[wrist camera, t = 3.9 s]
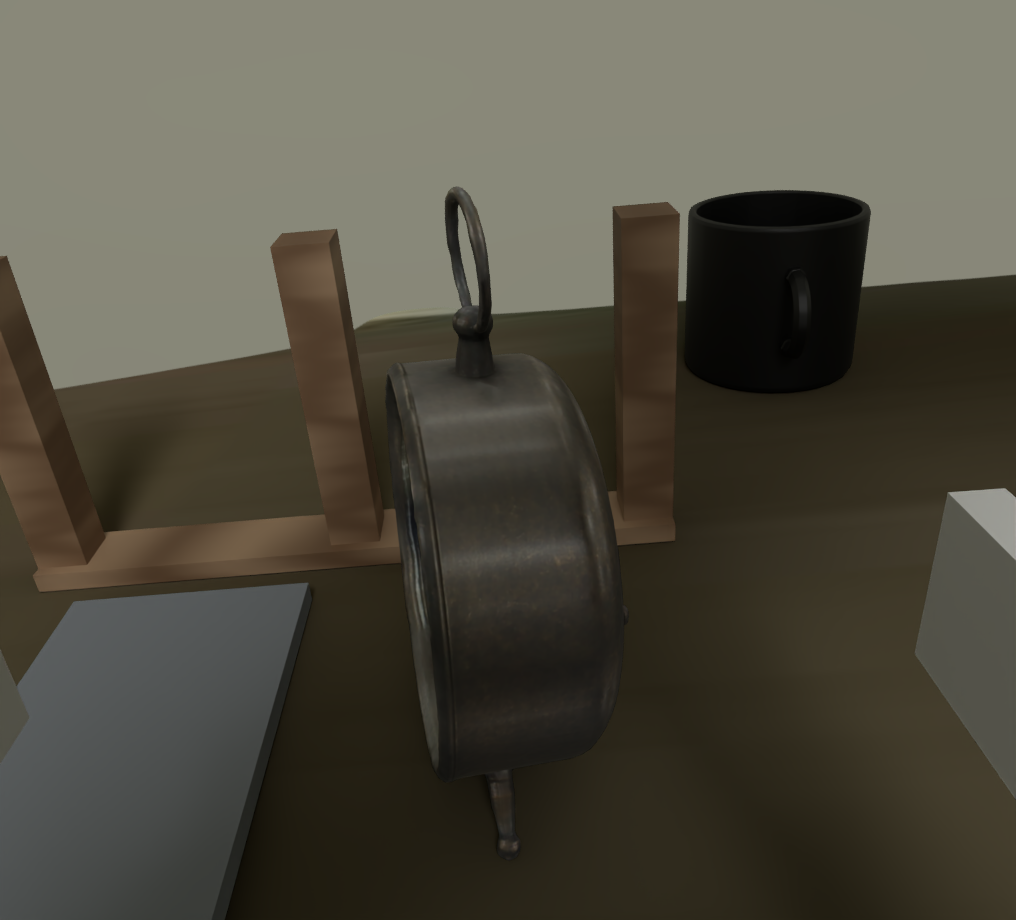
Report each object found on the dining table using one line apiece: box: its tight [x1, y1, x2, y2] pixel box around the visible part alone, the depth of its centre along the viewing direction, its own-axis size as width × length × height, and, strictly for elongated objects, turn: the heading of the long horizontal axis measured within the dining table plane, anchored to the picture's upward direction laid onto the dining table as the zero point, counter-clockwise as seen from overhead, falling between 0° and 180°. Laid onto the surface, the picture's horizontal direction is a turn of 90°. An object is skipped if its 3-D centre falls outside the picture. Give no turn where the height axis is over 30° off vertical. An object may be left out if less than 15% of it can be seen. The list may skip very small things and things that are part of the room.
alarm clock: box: [385, 187, 629, 861], centre depth 22 cm, size 11×5×16 cm, turn 12°
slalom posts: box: [0, 202, 680, 592], centre depth 33 cm, size 26×3×13 cm, turn 92°
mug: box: [685, 190, 871, 392], centre depth 47 cm, size 9×12×9 cm
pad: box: [0, 583, 312, 920], centre depth 26 cm, size 9×15×1 cm, turn 2°
